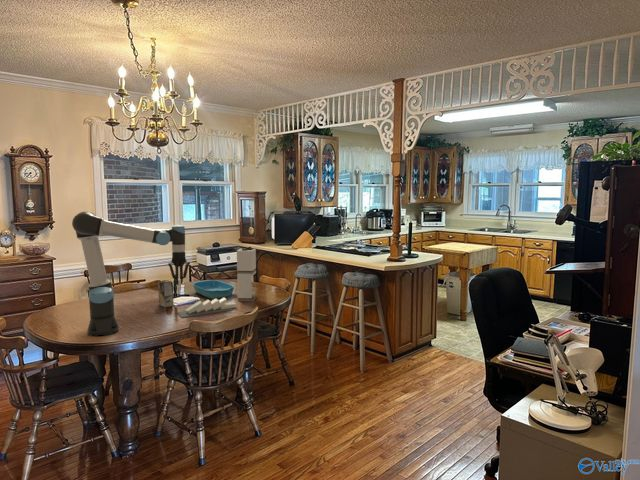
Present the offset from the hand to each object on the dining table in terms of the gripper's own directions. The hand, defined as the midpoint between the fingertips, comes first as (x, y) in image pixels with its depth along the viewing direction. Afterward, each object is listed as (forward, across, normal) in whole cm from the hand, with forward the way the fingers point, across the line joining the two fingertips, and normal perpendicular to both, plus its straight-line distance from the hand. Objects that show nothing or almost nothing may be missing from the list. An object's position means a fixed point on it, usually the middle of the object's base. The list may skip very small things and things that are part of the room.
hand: (179, 289), depth 257 cm
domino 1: (+14, +4, 0) cm, 15 cm away
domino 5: (+14, +25, 0) cm, 29 cm away
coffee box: (+16, -2, +28) cm, 32 cm away
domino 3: (+14, +15, 0) cm, 20 cm away
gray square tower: (+15, +50, +15) cm, 54 cm away
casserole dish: (+16, +34, +42) cm, 56 cm away
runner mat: (+16, +16, 0) cm, 22 cm away
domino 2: (+14, +10, 0) cm, 17 cm away
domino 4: (+14, +20, 0) cm, 24 cm away
